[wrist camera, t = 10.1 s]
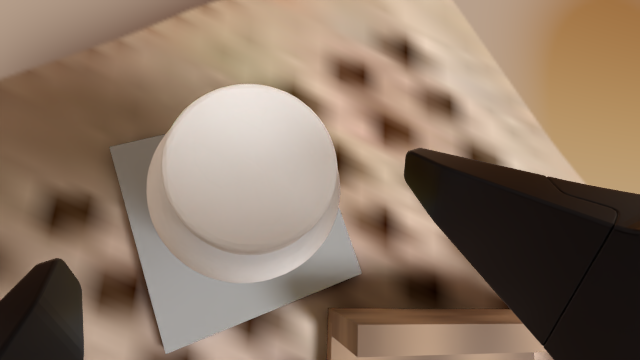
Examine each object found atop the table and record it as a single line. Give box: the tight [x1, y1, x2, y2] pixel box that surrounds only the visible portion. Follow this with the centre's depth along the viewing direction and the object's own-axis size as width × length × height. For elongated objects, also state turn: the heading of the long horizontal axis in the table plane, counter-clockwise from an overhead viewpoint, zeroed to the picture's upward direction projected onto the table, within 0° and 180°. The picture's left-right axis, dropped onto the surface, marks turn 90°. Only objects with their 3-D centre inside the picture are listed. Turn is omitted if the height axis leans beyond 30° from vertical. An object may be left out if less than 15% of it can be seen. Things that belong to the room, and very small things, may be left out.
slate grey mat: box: [109, 134, 362, 354], centre depth 18 cm, size 10×10×1 cm
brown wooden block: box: [327, 308, 547, 360], centre depth 17 cm, size 12×4×4 cm, turn 88°
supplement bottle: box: [146, 84, 340, 283], centre depth 12 cm, size 6×6×10 cm
